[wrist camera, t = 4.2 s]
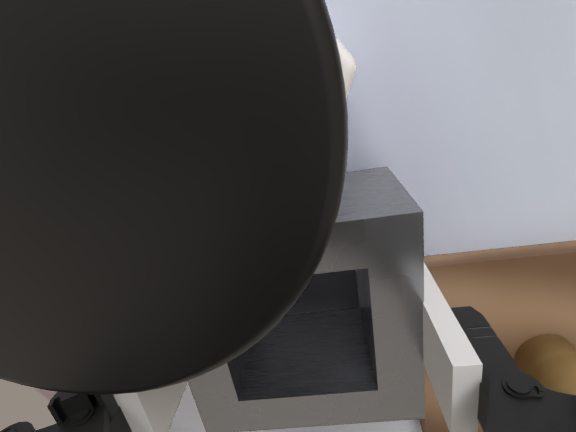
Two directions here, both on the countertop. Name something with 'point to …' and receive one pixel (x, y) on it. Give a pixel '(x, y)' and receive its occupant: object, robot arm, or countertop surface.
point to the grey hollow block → (339, 330)
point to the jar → (161, 182)
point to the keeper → (515, 309)
